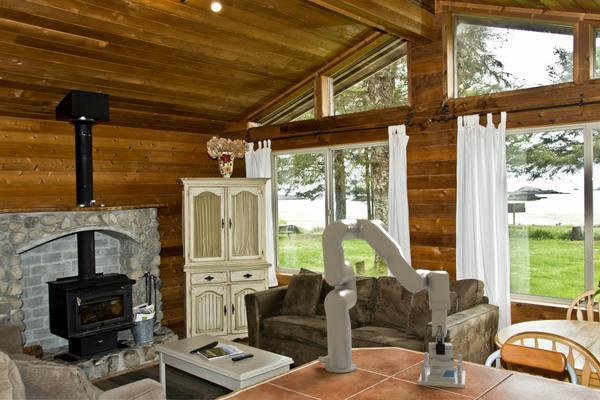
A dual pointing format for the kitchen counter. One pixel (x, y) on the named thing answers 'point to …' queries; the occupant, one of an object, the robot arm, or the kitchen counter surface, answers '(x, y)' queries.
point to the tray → (442, 381)
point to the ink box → (441, 361)
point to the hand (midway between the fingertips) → (441, 351)
